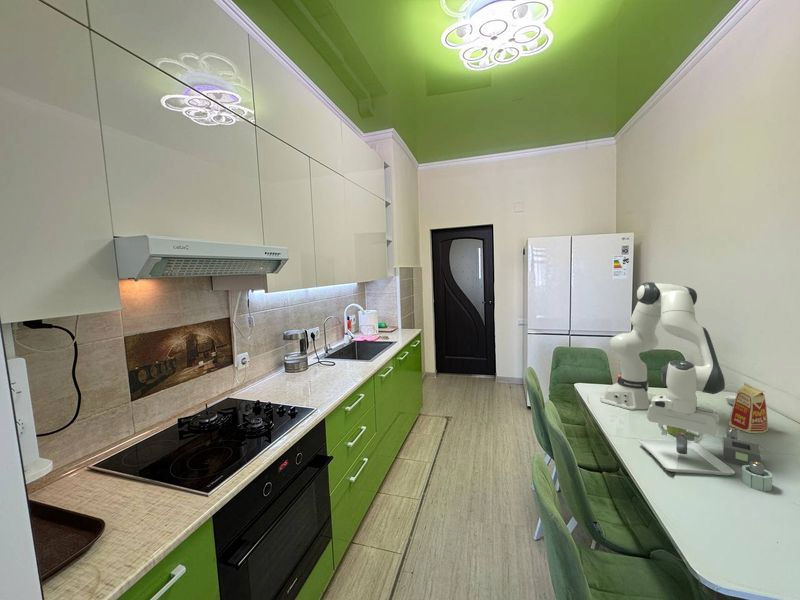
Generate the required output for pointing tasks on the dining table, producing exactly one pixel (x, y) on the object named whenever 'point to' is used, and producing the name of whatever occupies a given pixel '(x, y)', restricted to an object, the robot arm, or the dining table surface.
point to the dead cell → (757, 468)
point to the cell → (681, 443)
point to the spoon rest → (730, 399)
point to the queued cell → (732, 433)
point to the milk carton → (749, 410)
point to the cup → (757, 479)
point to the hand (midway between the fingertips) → (680, 438)
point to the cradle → (740, 451)
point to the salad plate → (669, 455)
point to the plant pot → (675, 430)
